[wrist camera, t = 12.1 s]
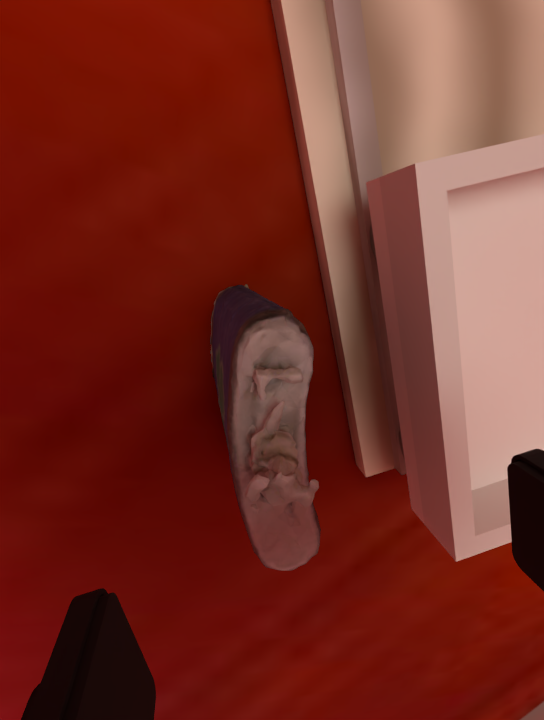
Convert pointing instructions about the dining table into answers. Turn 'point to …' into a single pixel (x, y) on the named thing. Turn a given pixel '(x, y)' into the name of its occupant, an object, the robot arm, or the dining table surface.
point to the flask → (266, 422)
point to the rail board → (394, 146)
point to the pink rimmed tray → (464, 329)
